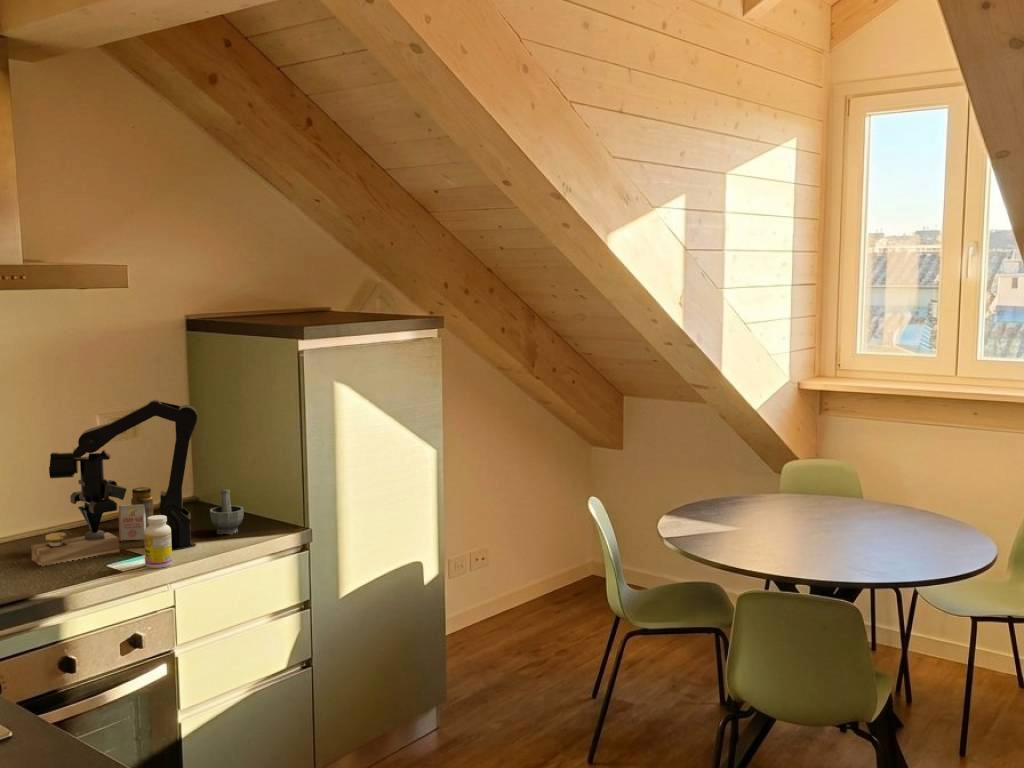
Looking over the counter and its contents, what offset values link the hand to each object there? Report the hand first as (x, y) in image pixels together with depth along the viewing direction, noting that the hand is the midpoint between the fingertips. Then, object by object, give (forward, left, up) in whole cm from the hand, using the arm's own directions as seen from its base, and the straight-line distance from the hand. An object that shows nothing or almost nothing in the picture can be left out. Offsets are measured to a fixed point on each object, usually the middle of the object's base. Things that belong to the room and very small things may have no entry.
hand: (94, 532), depth 264 cm
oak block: (0, +5, -6) cm, 7 cm away
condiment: (+17, -20, -6) cm, 27 cm away
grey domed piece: (0, 0, -4) cm, 4 cm away
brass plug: (0, +10, -3) cm, 10 cm away
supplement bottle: (-23, -8, -6) cm, 25 cm away
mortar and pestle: (-3, -37, -6) cm, 38 cm away
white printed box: (+7, -13, -6) cm, 16 cm away
